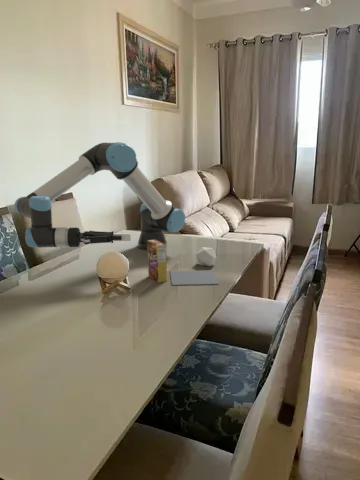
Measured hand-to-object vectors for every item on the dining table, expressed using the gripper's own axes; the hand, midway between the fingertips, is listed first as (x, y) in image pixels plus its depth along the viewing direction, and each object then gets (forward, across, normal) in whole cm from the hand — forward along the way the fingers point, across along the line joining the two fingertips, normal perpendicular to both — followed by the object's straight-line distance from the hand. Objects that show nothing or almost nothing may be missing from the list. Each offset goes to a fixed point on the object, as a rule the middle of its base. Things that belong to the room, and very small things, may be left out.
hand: (130, 237), depth 150 cm
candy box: (+10, 0, -18) cm, 20 cm away
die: (+32, -17, -17) cm, 41 cm away
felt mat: (+25, 0, -17) cm, 30 cm away
